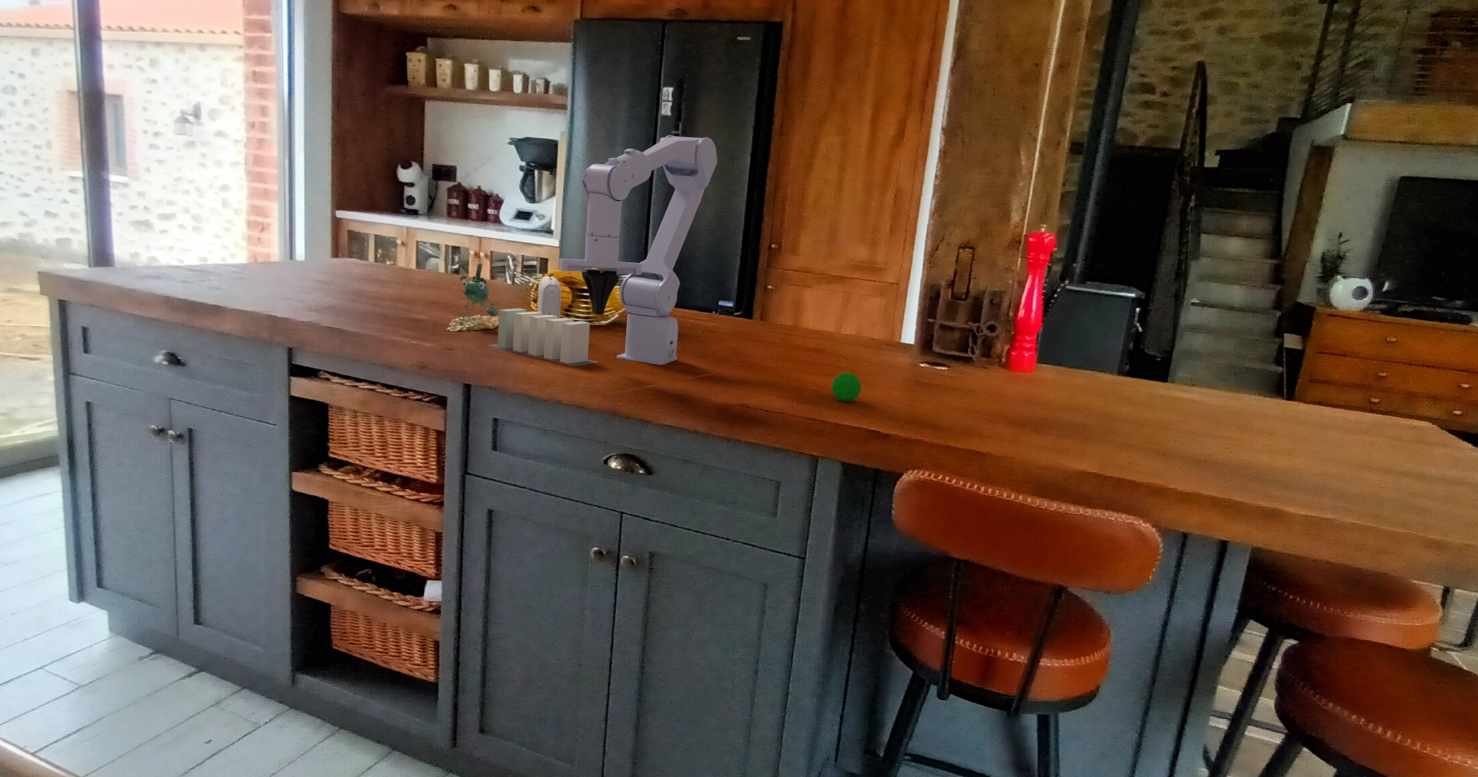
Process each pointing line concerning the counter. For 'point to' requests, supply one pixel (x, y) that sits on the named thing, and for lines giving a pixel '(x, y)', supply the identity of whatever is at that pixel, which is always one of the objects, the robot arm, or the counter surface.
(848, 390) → the polyhedron
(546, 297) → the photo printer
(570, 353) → the domino
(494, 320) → the teal and tan figure
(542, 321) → the domino
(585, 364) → the domino mat
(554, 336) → the domino
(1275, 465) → the counter surface
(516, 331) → the domino
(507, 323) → the pale green rectangular block
